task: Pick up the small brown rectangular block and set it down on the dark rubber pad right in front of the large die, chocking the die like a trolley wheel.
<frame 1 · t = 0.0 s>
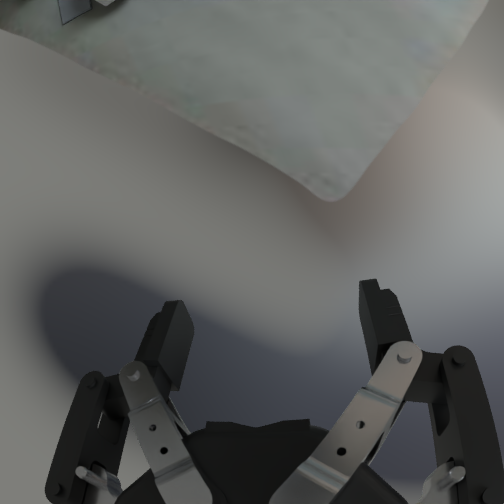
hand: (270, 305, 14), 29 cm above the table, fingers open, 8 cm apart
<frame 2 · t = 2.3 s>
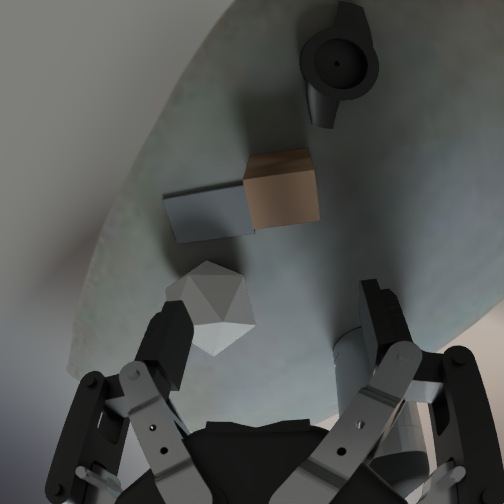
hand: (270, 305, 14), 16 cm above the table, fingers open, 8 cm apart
die: (216, 281, 35), on the table
brown rectangular block: (282, 172, 27), on the table
pad: (209, 214, 30), on the table
black round bracket: (334, 63, 22), on the table
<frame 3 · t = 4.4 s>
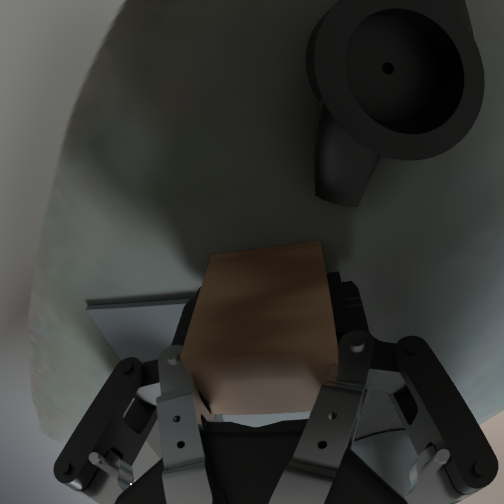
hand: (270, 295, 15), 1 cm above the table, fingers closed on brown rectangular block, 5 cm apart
die: (183, 397, 23), on the table
brown rectangular block: (271, 281, 15), on the table, touching gripper
pad: (157, 332, 18), on the table
black round bracket: (379, 67, 10), on the table
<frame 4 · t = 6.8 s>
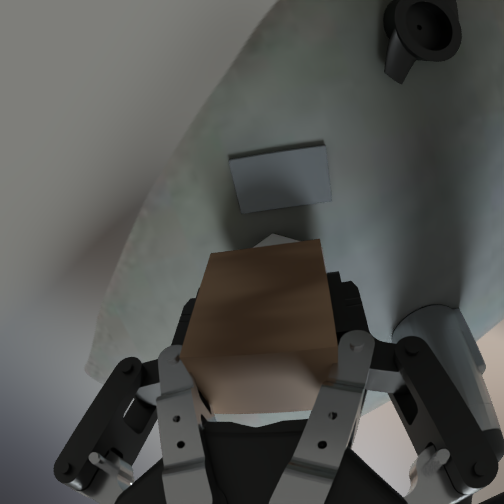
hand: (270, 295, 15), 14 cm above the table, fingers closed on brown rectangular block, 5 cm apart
die: (280, 258, 31), on the table
brown rectangular block: (271, 280, 15), point 13 cm above the table, touching gripper
pad: (281, 179, 26), on the table
black round bracket: (414, 28, 18), on the table
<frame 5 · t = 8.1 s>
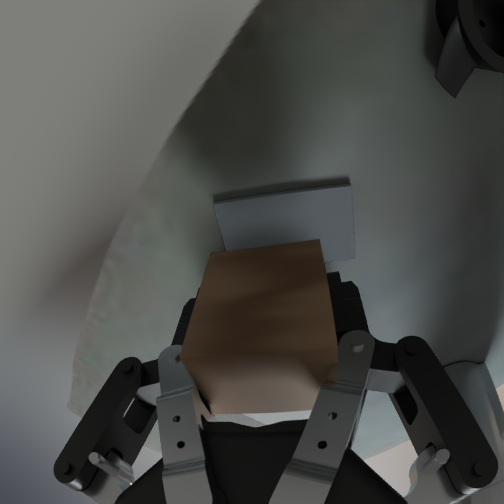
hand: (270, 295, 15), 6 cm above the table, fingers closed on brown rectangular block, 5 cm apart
die: (282, 322, 24), on the table
brown rectangular block: (271, 280, 15), point 5 cm above the table, touching gripper
pad: (287, 229, 19), on the table
black round bracket: (472, 24, 11), on the table
when the fingers open (3 cm above the table, at t = 9.2 s): brown rectangular block drops 1 cm, resting on pad.
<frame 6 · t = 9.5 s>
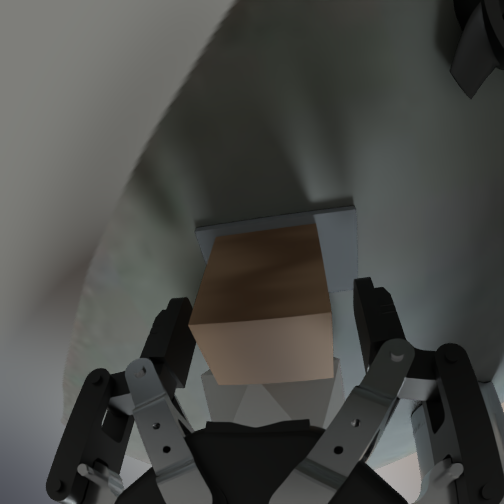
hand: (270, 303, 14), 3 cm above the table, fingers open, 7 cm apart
die: (277, 352, 22), on the table
brown rectangular block: (271, 263, 17), resting on pad
pad: (281, 257, 17), on the table
black round bracket: (493, 18, 8), on the table
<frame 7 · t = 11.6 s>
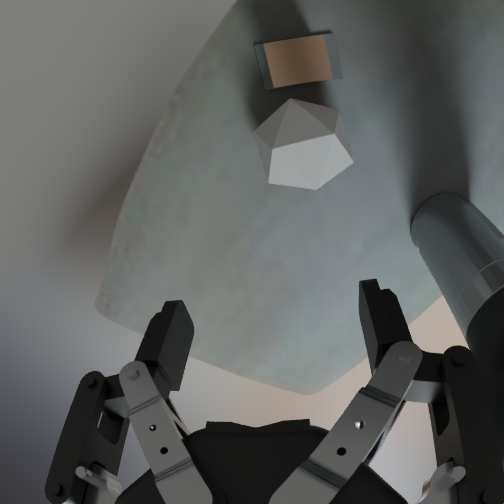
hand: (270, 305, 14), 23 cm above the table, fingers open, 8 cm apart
die: (300, 135, 32), on the table
brown rectangular block: (294, 61, 27), resting on pad
pad: (298, 60, 27), on the table
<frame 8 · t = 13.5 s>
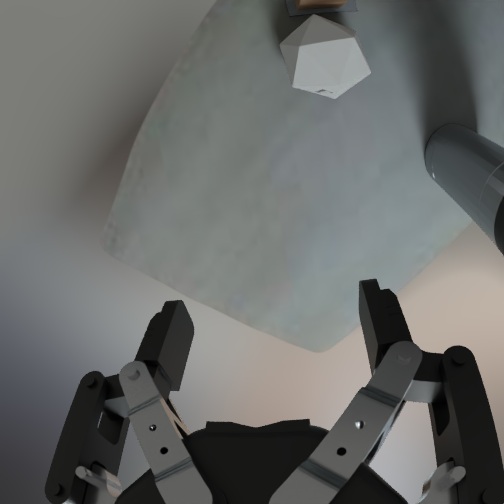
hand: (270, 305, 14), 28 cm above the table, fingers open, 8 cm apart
die: (320, 57, 31), on the table
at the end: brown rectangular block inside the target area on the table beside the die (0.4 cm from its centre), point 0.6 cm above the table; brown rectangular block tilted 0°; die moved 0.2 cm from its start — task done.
